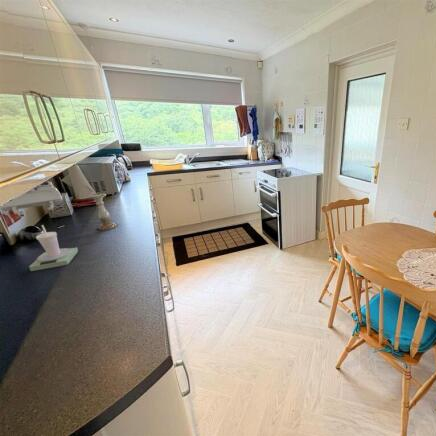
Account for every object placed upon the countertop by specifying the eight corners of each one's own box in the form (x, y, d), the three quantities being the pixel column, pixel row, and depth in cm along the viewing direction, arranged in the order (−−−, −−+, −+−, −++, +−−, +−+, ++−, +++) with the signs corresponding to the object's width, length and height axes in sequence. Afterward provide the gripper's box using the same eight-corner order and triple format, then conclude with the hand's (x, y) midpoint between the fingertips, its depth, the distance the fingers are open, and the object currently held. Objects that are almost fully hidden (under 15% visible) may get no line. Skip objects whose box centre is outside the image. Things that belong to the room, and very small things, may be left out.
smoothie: (64, 249, 108) (53, 221, 102) (63, 254, 103) (51, 226, 98) (45, 253, 104) (32, 225, 99) (43, 259, 99) (30, 230, 94)
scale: (30, 271, 96) (27, 265, 95) (45, 256, 107) (43, 251, 106) (67, 264, 101) (65, 259, 100) (78, 251, 112) (76, 245, 111)
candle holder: (110, 223, 143) (100, 192, 136) (120, 225, 140) (110, 193, 133) (95, 229, 136) (83, 195, 128) (104, 231, 133) (93, 197, 125)
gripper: (-11, 188, 97) (-1, 215, 95) (55, 181, 112) (65, 204, 110) (-6, 196, 102) (4, 222, 100) (57, 188, 116) (67, 211, 114)
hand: (36, 213), depth 105 cm, fingers open, 8 cm apart
